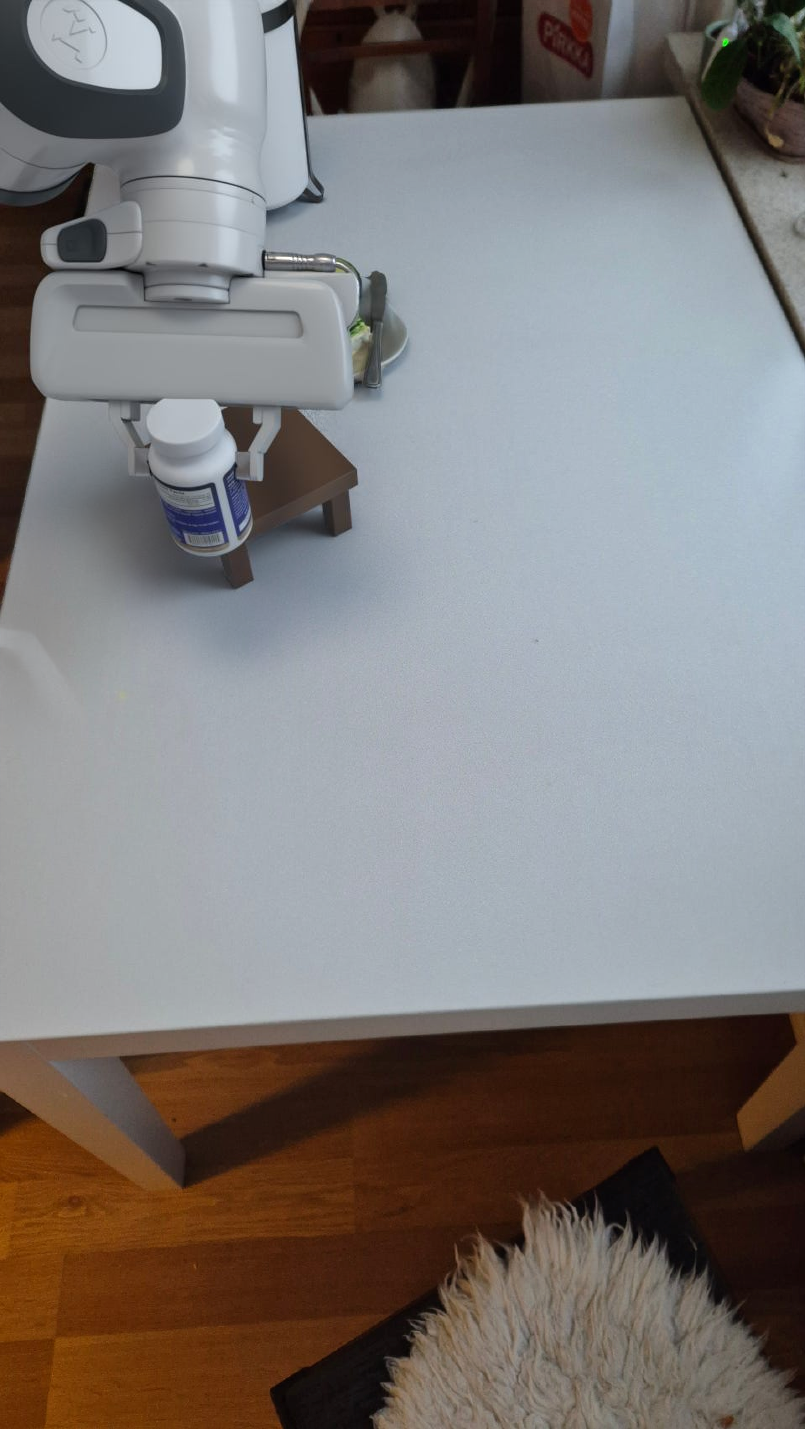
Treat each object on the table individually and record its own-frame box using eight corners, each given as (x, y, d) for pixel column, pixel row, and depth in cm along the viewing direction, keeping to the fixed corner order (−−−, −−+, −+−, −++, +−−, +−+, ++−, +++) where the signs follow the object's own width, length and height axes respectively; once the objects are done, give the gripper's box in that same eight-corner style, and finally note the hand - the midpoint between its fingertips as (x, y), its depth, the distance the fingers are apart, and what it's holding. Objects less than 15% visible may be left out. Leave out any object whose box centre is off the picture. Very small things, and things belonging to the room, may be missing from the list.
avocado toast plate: (451, 377, 99) (452, 337, 95) (281, 432, 95) (275, 392, 91) (371, 272, 108) (369, 231, 105) (214, 318, 105) (206, 278, 101)
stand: (233, 597, 84) (218, 539, 78) (159, 507, 90) (141, 446, 84) (362, 529, 88) (357, 469, 82) (283, 446, 94) (274, 385, 88)
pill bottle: (218, 487, 73) (191, 373, 64) (270, 528, 70) (249, 415, 62) (154, 529, 70) (118, 417, 62) (206, 573, 68) (175, 462, 60)
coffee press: (204, 161, 122) (146, -155, 96) (335, 168, 120) (310, -151, 95) (166, 244, 112) (90, -81, 87) (307, 253, 111) (271, -76, 86)
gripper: (366, 266, 65) (359, 485, 68) (56, 257, 66) (63, 473, 69) (354, 241, 59) (348, 484, 62) (13, 233, 60) (23, 471, 63)
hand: (195, 478), depth 66 cm, fingers closed on pill bottle, 6 cm apart
